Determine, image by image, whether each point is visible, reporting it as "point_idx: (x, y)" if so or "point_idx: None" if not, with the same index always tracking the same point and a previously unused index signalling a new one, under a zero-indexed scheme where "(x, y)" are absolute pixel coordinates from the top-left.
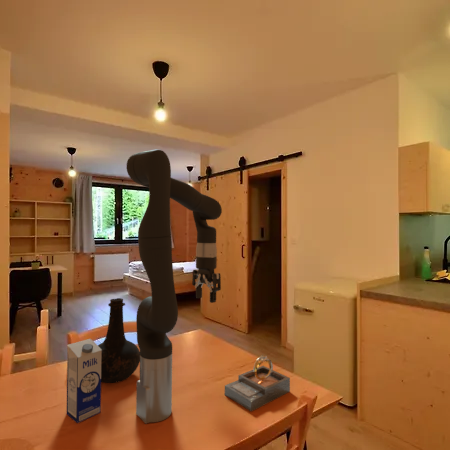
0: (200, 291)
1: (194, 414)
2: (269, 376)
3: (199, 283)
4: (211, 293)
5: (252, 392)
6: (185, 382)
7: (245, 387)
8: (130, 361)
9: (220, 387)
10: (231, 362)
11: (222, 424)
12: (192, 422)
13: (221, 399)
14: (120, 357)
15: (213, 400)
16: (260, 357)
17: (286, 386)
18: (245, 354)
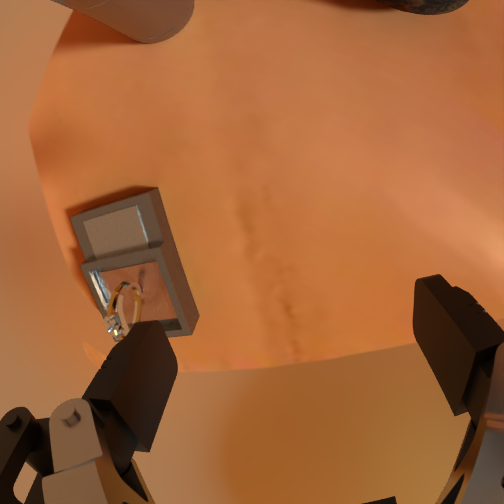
0: (442, 365)
1: (113, 90)
2: (135, 312)
3: (469, 452)
4: (98, 392)
5: (95, 239)
6: (271, 112)
7: (119, 236)
8: None
9: (197, 194)
10: (325, 295)
11: (66, 138)
12: (92, 80)
13: (142, 170)
14: None
15: (146, 150)
16: (110, 320)
17: None
18: (347, 349)
